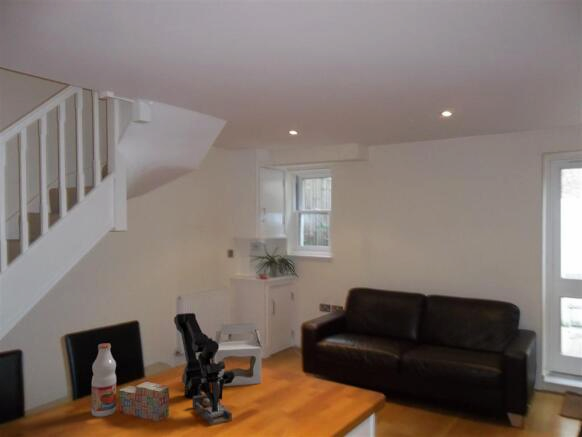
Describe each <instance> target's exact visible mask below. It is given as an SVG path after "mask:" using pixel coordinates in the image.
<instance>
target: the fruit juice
mask: <svg viewBox="0 0 582 437" xmlns="http://www.w3.org/2000/svg"><path fill="white" fill-rule="evenodd" d="M111 348H112V346H111V343H110V342H108V343H107V342H106V343H100V344H98V346H97V350H98V354H97V356H96V358H95V360H94V362H93V363H92V366H91V367H92V368H91V369H92V370H91V371H92V373H93V374H92V377H91V378H92V379H91V408H90V409H91V410H90V411H91V414H92V416H93V417H96V418H97V417H98V418H102V417H107V416H108V417H109V416H111V415H113V414H114V413H115V412H116V409H117V375H116V367H117V362H116V360H115V359H114V357H113V355H112V352H111Z"/></svg>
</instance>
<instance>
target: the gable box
mask: <svg viewBox="0 0 582 437" xmlns="http://www.w3.org/2000/svg"><path fill="white" fill-rule="evenodd" d="M255 328H256V327H255V324H254V323H238V324H236V323H235V324H222V325H221V327H220V330H219V331H216V333H215V340H214V341H215V342H217V343H218V345H219V349H218V351H217V353H216V355H215V356H214V363H215V364H218V362H220V361H224V359H225V358H227V357H238V358H243V357H244V358H245V357H250V356H251V357H250V358H249V368H248V369H244V368H240V367H239V368H238V367H236V368H231V369H227V370H225V369H222V371H220V372H219V373H220V374H219V375H218V377H219V376H223V374H224V372H229V371H233V372H234V374H235V377H234V379H233V381H232V382H231V383H228V384H224V385H223V387H229V386H231V387H232V386H244V385H245V386H247V385H258V384H259V385H260V384H262V345H261V342H260V341H261V335H260V329H257V330H256V329H255ZM233 334H234V335H235V334H236V335H237V334H238V335H239V334H253V340H235V341H222V340H223V339H222V338H223V335H233Z"/></svg>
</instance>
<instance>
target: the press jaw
mask: <svg viewBox="0 0 582 437" xmlns="http://www.w3.org/2000/svg"><path fill="white" fill-rule="evenodd" d="M211 392H212V395H213V399H214V401H212V408H207V409H206V411H207V412H208V413H209V414H210V415H211V416H212V417H218V416H222V415H225V409H224V408H222V407H221V406H220V403H221V400H220V381H219V380H214V381H212V383H211Z"/></svg>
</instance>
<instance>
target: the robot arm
mask: <svg viewBox="0 0 582 437" xmlns="http://www.w3.org/2000/svg"><path fill="white" fill-rule="evenodd" d="M173 323H174V324H175V327H176V330H177V331H178V332H179V333H180V334H181V340H182V346H183V351H184V356H185V361H186V364H185V366H184V371H183V374H182V376H181V382H182V384H184V394H183V395H182V397H183V398H188V399H192V400H193V396H198V395H203V393H204V394H206V395H207V396H208V397H209V398H210V400H211V401H214V399H213V395H212V388H211V387H210V386H211V384H212V381H214V380H219V381H220V401H222V400H223V389H224V386H223V385H224V384H228V383H231V382H232V381H233V379H234V377H235V374H234V372H233V371H229V372H224V374H223V376H219V377H218V375H219V374H220V373H219V372H220V371H222V369H224V370H225V369H226V364H225V361H224V360H222V361H220V362H218V364H215V360H214V359H215V355H216V353H217V351H218V349H219V345H218V343H217V342H215V340H213V338H212V337H209V336H208V334H205V333H204V332H203V331H202V329H201V327H200V324H199V323H198V320H197V315H196V313H194V312H191V313H190V312H186V313H177V314H176V315H175V316H174V318H173ZM196 353H199V354H198V355H197V354H196ZM202 392H203V393H202Z"/></svg>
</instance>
